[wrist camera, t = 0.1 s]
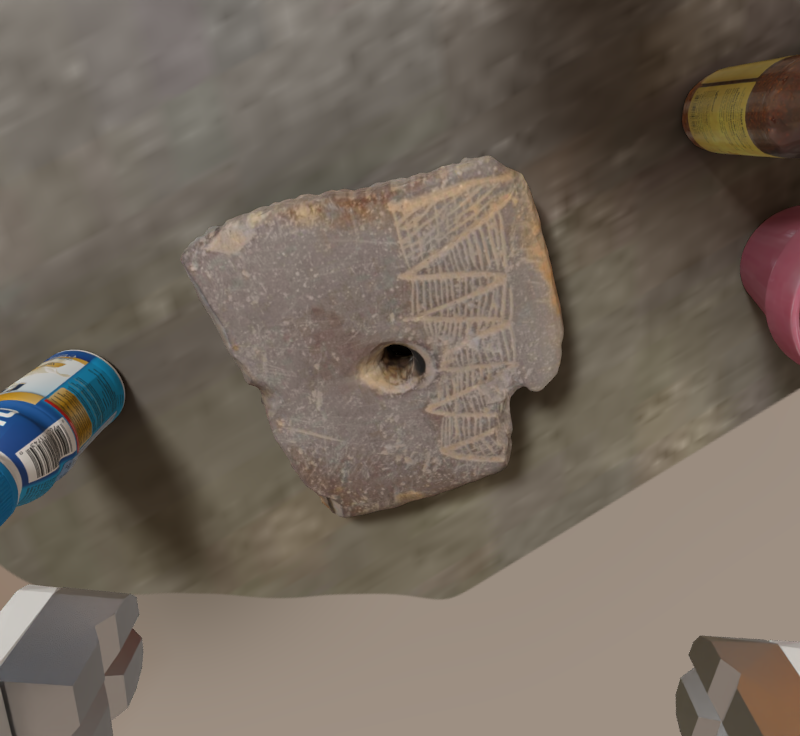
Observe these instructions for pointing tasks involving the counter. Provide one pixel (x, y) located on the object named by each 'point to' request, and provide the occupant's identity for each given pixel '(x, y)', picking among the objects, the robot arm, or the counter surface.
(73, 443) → the beverage bottle
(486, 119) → the counter surface
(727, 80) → the sauce bottle
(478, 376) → the stone slab
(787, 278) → the plant pot
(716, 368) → the counter surface
